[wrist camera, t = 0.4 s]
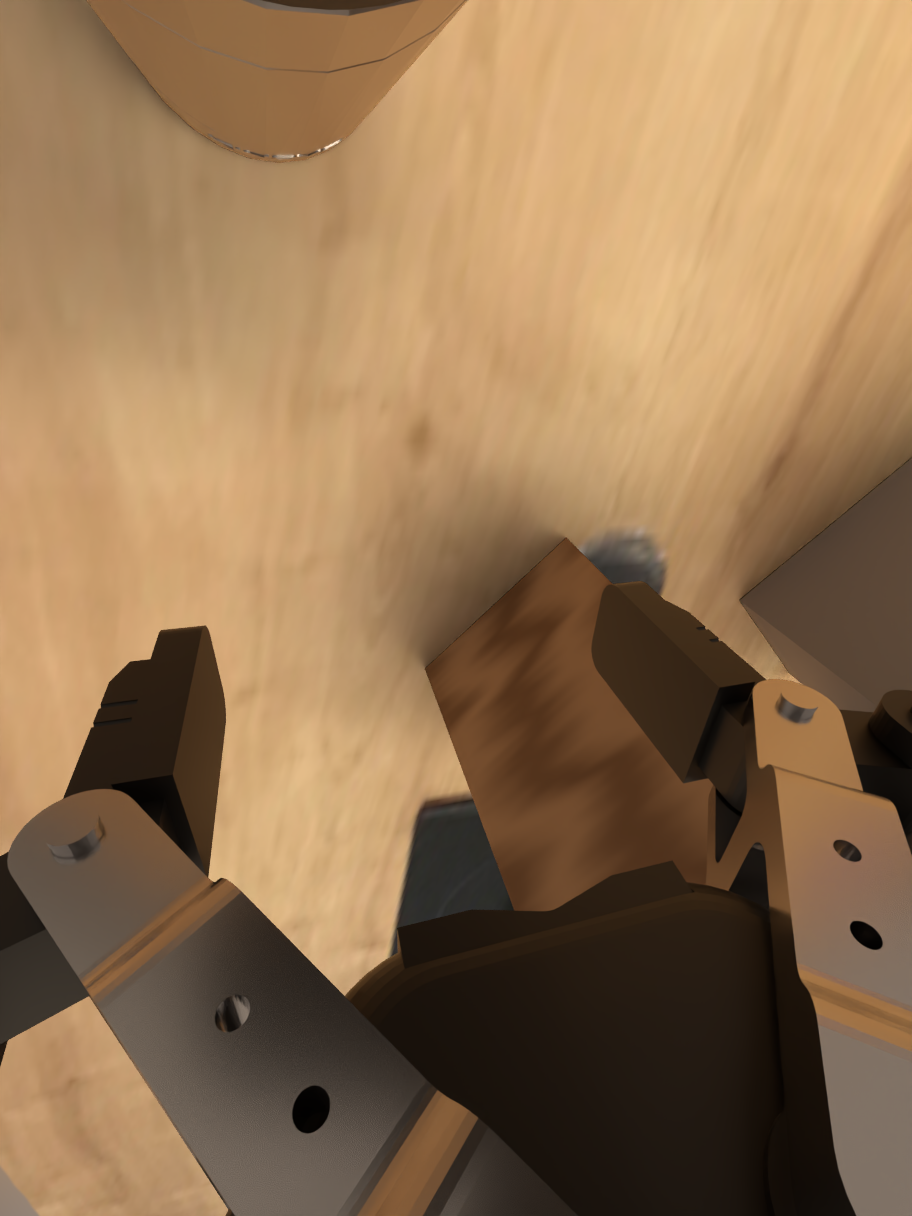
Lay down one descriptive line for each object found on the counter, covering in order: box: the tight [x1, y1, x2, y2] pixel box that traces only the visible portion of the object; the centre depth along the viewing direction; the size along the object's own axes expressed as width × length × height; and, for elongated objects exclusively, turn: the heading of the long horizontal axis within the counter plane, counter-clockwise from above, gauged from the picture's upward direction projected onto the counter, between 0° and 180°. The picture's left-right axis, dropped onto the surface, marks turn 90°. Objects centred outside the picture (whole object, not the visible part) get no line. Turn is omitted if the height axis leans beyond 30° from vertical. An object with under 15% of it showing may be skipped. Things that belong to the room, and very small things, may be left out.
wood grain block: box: [425, 538, 713, 911], centre depth 25 cm, size 12×10×30 cm
